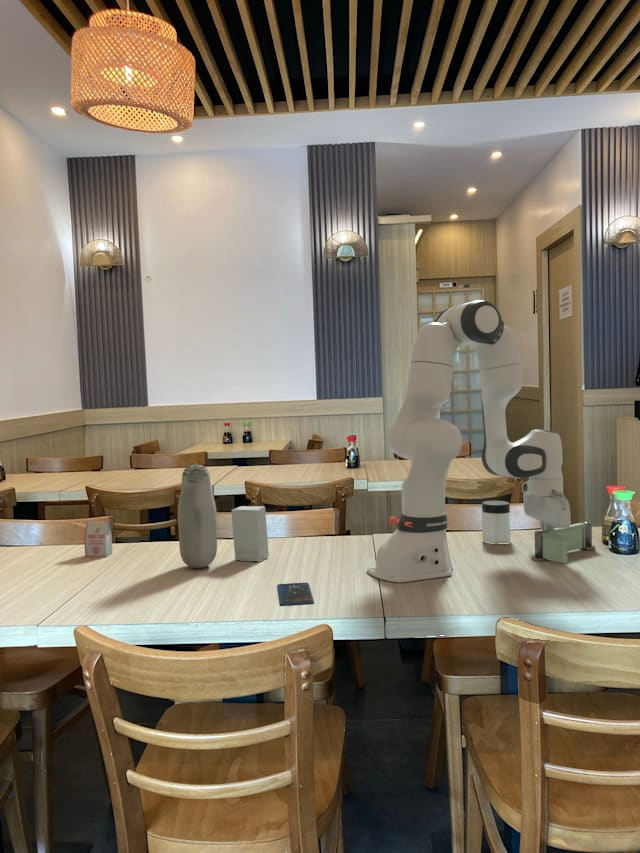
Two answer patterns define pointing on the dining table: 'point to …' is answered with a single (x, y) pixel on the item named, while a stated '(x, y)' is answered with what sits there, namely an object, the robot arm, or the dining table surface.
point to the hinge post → (588, 536)
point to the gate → (571, 535)
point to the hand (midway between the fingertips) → (546, 537)
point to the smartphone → (294, 594)
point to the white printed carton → (98, 539)
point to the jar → (496, 522)
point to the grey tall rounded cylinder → (197, 518)
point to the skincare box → (250, 533)
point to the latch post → (538, 547)
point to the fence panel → (554, 547)
